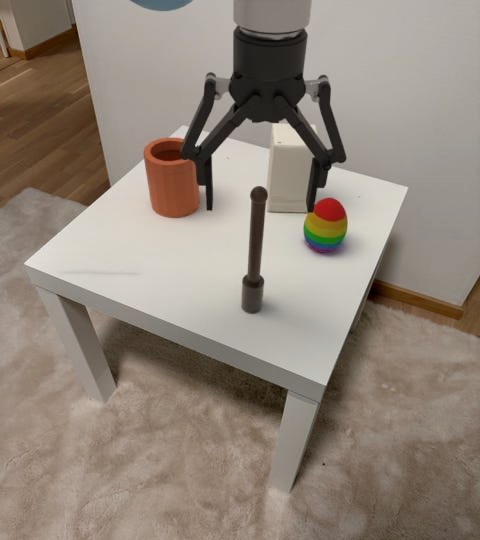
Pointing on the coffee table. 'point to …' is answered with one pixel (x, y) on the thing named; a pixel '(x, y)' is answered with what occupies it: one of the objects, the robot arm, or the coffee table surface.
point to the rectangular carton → (288, 170)
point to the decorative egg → (326, 225)
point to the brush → (255, 253)
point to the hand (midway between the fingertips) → (259, 206)
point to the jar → (171, 178)
